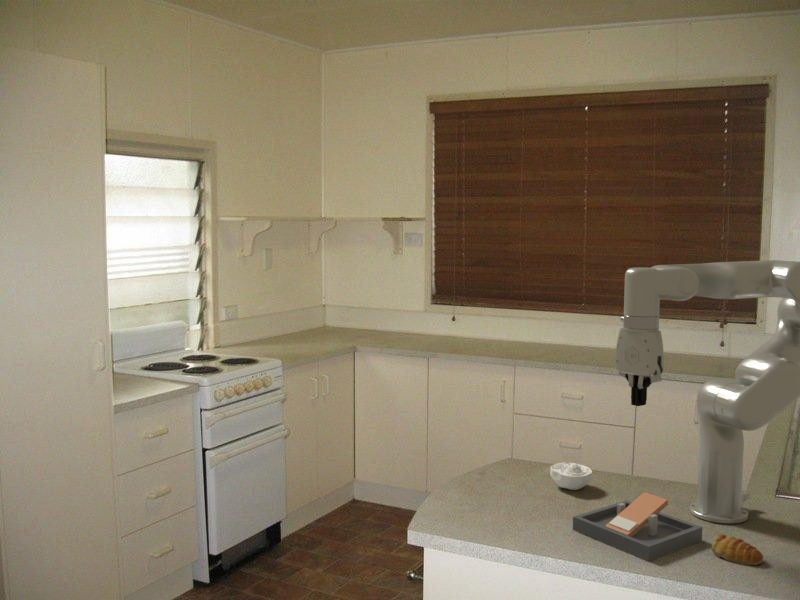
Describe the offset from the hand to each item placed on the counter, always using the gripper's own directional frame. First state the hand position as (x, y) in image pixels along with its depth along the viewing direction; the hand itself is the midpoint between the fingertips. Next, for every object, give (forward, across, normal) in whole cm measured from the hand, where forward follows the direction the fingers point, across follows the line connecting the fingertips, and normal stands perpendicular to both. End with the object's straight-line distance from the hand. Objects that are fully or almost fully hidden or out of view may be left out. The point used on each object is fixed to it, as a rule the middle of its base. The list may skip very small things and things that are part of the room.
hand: (638, 404), depth 175 cm
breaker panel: (+27, +5, -6) cm, 28 cm away
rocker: (+23, +5, -6) cm, 24 cm away
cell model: (+27, -25, +6) cm, 38 cm away
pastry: (+28, +24, +2) cm, 36 cm away
